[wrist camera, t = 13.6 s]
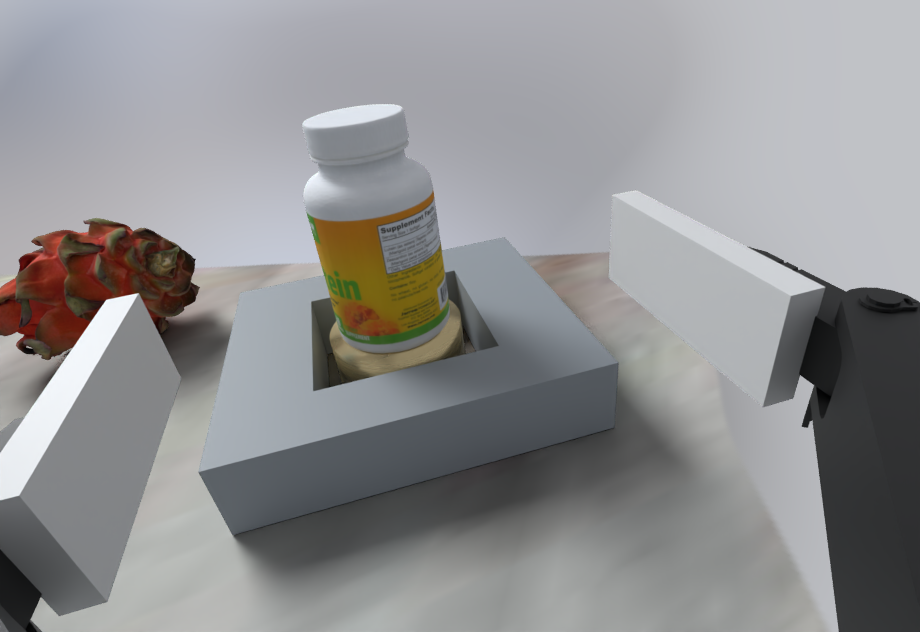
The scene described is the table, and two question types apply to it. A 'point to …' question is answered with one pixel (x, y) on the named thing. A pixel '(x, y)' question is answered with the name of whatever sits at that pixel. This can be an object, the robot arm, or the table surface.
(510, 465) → the table surface
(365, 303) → the supplement bottle
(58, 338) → the dragon fruit
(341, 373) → the plunger disc
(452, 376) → the socket plate
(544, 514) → the table surface
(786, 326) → the robot arm
